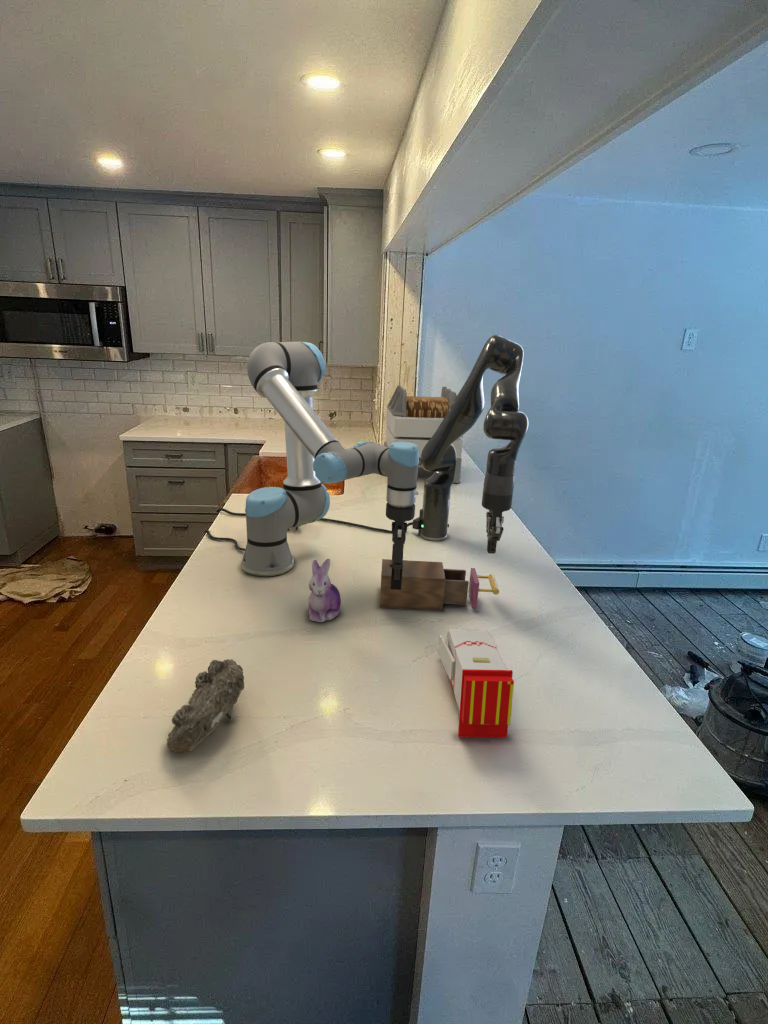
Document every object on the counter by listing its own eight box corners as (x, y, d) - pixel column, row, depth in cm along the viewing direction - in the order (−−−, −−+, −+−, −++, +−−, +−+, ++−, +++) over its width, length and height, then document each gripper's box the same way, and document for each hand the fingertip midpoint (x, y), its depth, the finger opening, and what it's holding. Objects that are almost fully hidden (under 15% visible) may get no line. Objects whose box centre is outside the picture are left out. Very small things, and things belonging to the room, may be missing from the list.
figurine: (314, 627, 139) (314, 572, 134) (300, 608, 148) (299, 555, 143) (349, 619, 143) (350, 565, 138) (333, 601, 152) (334, 550, 147)
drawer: (491, 593, 159) (494, 569, 156) (497, 609, 150) (500, 584, 148) (417, 589, 159) (419, 565, 156) (418, 605, 150) (420, 580, 148)
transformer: (382, 463, 289) (386, 382, 275) (445, 464, 293) (451, 384, 279) (390, 482, 257) (394, 392, 243) (460, 483, 261) (468, 394, 247)
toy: (488, 613, 130) (523, 677, 101) (484, 667, 133) (517, 744, 104) (435, 612, 130) (455, 676, 101) (432, 666, 133) (451, 743, 103)
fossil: (192, 660, 117) (244, 628, 112) (224, 691, 120) (276, 661, 115) (142, 746, 98) (202, 712, 93) (182, 779, 101) (242, 748, 96)
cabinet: (439, 592, 160) (442, 562, 157) (442, 610, 150) (445, 578, 147) (380, 589, 160) (382, 558, 157) (379, 607, 150) (381, 575, 147)
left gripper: (416, 521, 134) (410, 600, 141) (414, 488, 157) (409, 558, 165) (384, 519, 134) (380, 598, 141) (387, 487, 157) (383, 556, 165)
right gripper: (518, 498, 137) (509, 563, 143) (508, 482, 150) (500, 543, 156) (487, 497, 137) (479, 562, 143) (479, 481, 150) (473, 541, 156)
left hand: (396, 577), depth 153 cm, fingers open, 13 cm apart
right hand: (490, 552), depth 150 cm, fingers closed
